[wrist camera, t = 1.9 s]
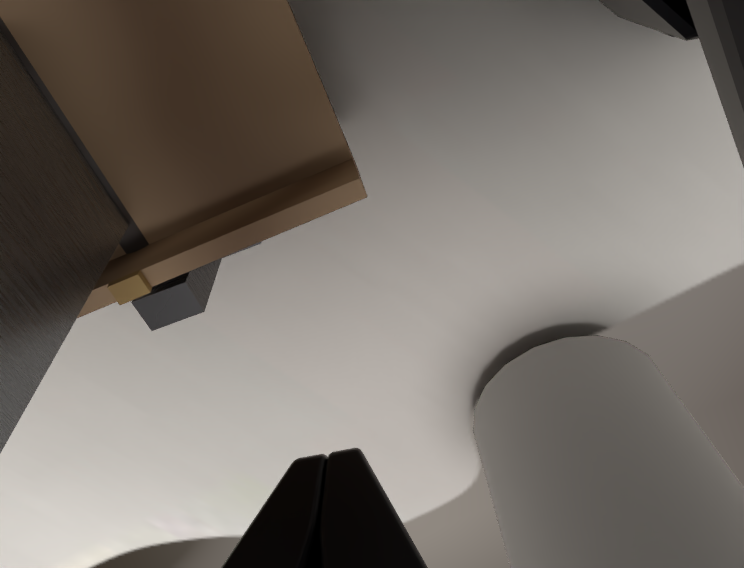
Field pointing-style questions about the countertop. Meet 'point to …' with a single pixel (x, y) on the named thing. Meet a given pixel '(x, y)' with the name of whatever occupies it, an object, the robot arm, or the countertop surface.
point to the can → (603, 464)
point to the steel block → (43, 235)
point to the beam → (188, 124)
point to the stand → (178, 296)
